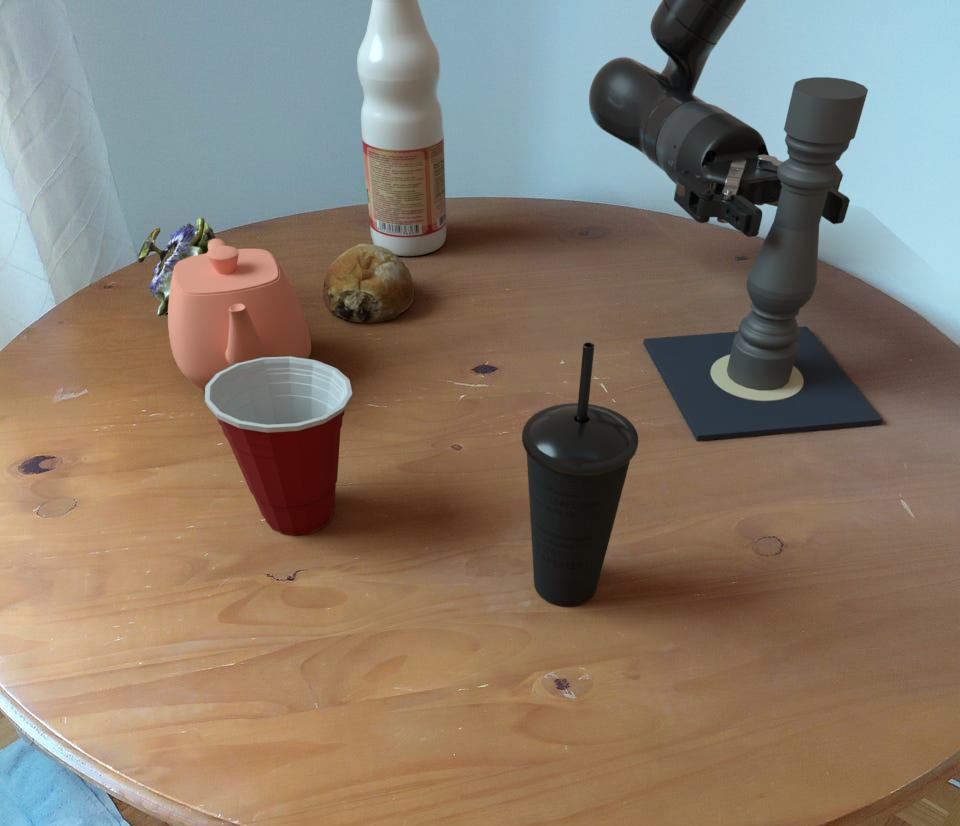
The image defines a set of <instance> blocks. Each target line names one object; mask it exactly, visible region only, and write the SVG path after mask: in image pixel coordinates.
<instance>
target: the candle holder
mask: <svg viewBox="0 0 960 826" xmlns="http://www.w3.org/2000/svg"><path fill="white" fill-rule="evenodd" d="M868 92H869V89H868V88H867V87H866V86H865V85H863V84H861V83H859V82H857V81H854V80H849V79H844V78H840V77H839V78H838V77H829V76H828V77H827V76H824V77H821V76H815V77H808V78H806V77H805V78H802V79H800V80H797V81H795V82H794V85H793V87H792V91H791V96H790V100H789V105H788V110H787V114H786V118H785V123H784V127H783V131H784V132H785V133H786V136H785V139H784V142H785V143H784V144H785V145H786V148H787V152H786V153H787V155H788V158H787V159H786V160H784V161H782V163H781V164H780V165H779V167H778V170H777V176H778V178H779V179H780V181H781V185H782V189H781V193H780V198H779V202H778V206H776V211H775V215H774V219H773V222H772V224H771V226H770V228H769V230H768V232H767V234H766V236H765V239H764V241H763V244H762V245H761V248H760V249H759V252H758V253H757V256H756V258H755V260H754V262H753V264H752V266H751V269H750V270H749V272H748V275H747V279H746V290H747V293H748V296H749V299H750V301H751V304H750V309H751V311H750V312H749V313H748V314H747V315H746V316H745V317H744V318H742V319H741V321H740V323H739V326H738V332H739V331H740V332H739V333H737V334H736V335H735V338H734V340H733V344H732V349H731V353H730V358H729V362H728V367H727V374H728V376H729V378H730V379H731V380H733V381H734V382H735V383H736V384H739V385H741V386H743V387H745V388H749V389H754V390H775V389H779V388H782V387H784V386H785V385H786V384H788V383H789V379H790V376H791V373H792V369H793V365H794V362H795V358H796V355H797V351H798V348H799V345H798V343H797V340H798V338H799V335H800V328H799V327H800V326H799V325H798V321H797V318H796V317H797V316H798V315H799V313H800V310H801V308H803V307H804V306H805V305H806V304H807V303H809V301H810V300H811V299H812V296H813V295H814V293H815V290H816V286H817V283H818V264H819V244H820V243H819V242H820V241H819V240H820V224H821V219H822V213H823V209H824V205H825V202H826V198H827V194H828V191H830V190H831V188H832V187H833V186H835V185H837V184H838V183H839V181H840V178H841V174H843V172H842V171H841V168H839V166H838V165H837V164H836V163H837V162H838V161H839V160H840V159H841V156H842V155H843V154H844V153H845V152H846V151H847V150H848V149H849V147H850V143H851V141H852V140H854V139H855V138H856V135H857V134H856V133H857V131H858V128H859V125H860V121H861V116H862V113H863V110H864V106H865V102H866V99H867V95H868Z"/></svg>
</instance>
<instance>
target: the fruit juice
mask: <svg viewBox="0 0 960 826" xmlns="http://www.w3.org/2000/svg"><path fill="white" fill-rule="evenodd" d="M358 48H359V49H358V51H357V54H356V55H357V56H356V70H357V76H358V80H359V82H360V86H361V88H362V92H363V101H362V105H361V110H360V131H361V140H362V141H361V142H362V151H363V162H364V173H365V184H366V194H367V196H366V197H367V207H368V216H369V217H368V219H369V228H370V236H371V240H372V244H373V245H377V246H381V247H383V248H386V249H388V250H390V251H391V252H392V253H394V254H395V255H396V256H397V257H398V256H399V257H416V256H422V255H427V254H430V253H433V252H435V251H437V250H439V249H440V248H441V247H442V246H443V245H445V242H446V240H447V239H446V238H447V204H446V203H447V202H446V201H447V200H446V171H445V170H446V169H445V167H446V166H445V132H444V131H445V130H444V129H445V128H444V118H443V117H444V116H443V109H442V106H441V103H440V101H439V99H438V88H439V82H440V76H441V58H440V54H439V50H438V48H437V46H436V44H435V43H434V41H433V39H432V37H431V34H429V30H428V27H427V25H426V22H425V20H424V16H423V14H422V10H421V7H420V3H419V0H372V1H371V6H370V12H369V17H368V21H367V26H366V30H365V35H364V37H363V39H362V41H361V44H360V46H359V47H358Z"/></svg>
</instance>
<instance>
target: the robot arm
mask: <svg viewBox="0 0 960 826" xmlns="http://www.w3.org/2000/svg"><path fill="white" fill-rule="evenodd" d="M746 2H747V0H661V2H660V4H659V5H658V6H657V8H656V10H655V12H654V14H653V16H652V18H651V21H650V27H649V28H650V34H651V37H652V39H653V40H654V42H655V44H656V45H657V46H658V47H659V48H660V50H661V51H662V52H663V53H664V54H665V55H667V57H668V58H667V61H666V64H665V66H664V68H663V69H662V71H661V72H659V71H656V70H655V69H653V68H651V67H649V66H647V65H645V64H643V63H641V62H639V61H637V60H636V59H634V58H631V57H627V56H622V57H621V56H620V57H616V58H614V59H611V60H609V61H608V62H606V63H605V64H604V65H602V66H601V67H600V69H599V70H598V71H597V73H596V74H595V75H594V77H593V79H592V82H591V85H590V88H589V93H588V107H589V112H590V116H591V118H592V120H593V121H594V123H595V124H596V125H597V127H599V128H600V129H601V130H603V132H605V133H607V134H609V135H610V136H612V137H614V138H616V139H617V140H619V141H621V142H623V143H625V144H627V145H628V146H630V147H633V148H634V149H636V150H638V151H639V152H640V153H641V154H643V155H644V156H645V157H646V158H647V159H648V160H649V161H650V162H651V163H652V164H654V165H655V166H657V167H658V168H659V169H660V170H661V171H663V172H664V173H665V174H666V175H667V177H668V178H669V179H670V181H672V182H673V184H675V190H674V196H673V201H674V202H675V203H676V204H677V205H679V207H681V208H682V209H683V211H685V213H687V214H688V215H689V216H690V217H691V218H692V219H693V220H694V221H695V222H697V223H699V224H707V223H709V222H710V219H711V218H716V221H717V222H718V223H721V224H729V225H730V226H732V227H733V228H734V229H735V230H737V231H738V232H741V233H742V234H743V235H744V236H746V237H747V238H752V237H757V236H758V235H759V234H760V229H761V224H762V221H763V220H762V219H763V211H762V209H761V208H759V206H761V207H762V206H763V205H767V206H773V207H777V206H778V202H779V198H780V193H781V189H782V185H781V181H780V179H779V178H778V176H777V170H778V167H779V165H780V164H781V163H782V162H783V161H782V160H779V159H778V157H776V156H774V155H770V154H769V150H768V147H767V145H766V142H765V139H764V137H763V136H762V134H761V133H760V132H759V131H758V130H757V129H755V128H754V127H752V126H751V125H749V124H747V123H745V122H744V121H743V120H741V119H739V118H737V117H736V116H734V115H732V114H731V113H730V112H728V111H726V110H725V109H724V108H721V107H719V106H717V105H715V104H710V103H707V102H706V101H704V100H702V98H699V97H698V96H696V95H695V94H694V92H695V89H696V87H697V85H698V83H699V80H700V79H701V76H702V73H703V71H704V69H705V66H706V64H707V62H708V59H709V58H710V55H711V53H712V52H713V50H714V49H715V47H716V46H717V44H718V42H720V40H721V39H722V37H723V36H724V34H725V33H726V31H727V30H728V29H729V27H730V26H731V25H732V23H733V21H734V20H735V18H736V17H737V16H738V14H739V13H740V11H741V9H742V8H743V7H744V5H745V4H746ZM843 176H844V174H843V173H842V174H841V178H840V181H839V183H838V184H837V185H835V186H833V187H832V188H831V190H830V191H828V194H827V198H826V202H825V205H824V209H823V213H822V216H821V218H824V219H825V220H827V221H828V222H829V223H831V224H832V225H838V224H842V223H844V221H845V219H846V215H847V212H848V209H849V205H850V202H851V200H850V198H849V196H847V195H846V194H844V193H843V192H840V191H839V190H840V186H841V183H842V181H843Z"/></svg>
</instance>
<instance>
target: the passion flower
mask: <svg viewBox="0 0 960 826" xmlns="http://www.w3.org/2000/svg"><path fill="white" fill-rule="evenodd" d="M195 224H196V225H193V224H191V223H190V222H189V223H187V224H186V225H182V227H179V228H178V230H174V234H172V233H171V234H170V233H169V238H170V239H169V242H167V244H166V245H165V247H164V249H160V248H158V247H157V246H156V245H155V243H156V239H157V237H158V236H159V235H160V233H161V228H160V227H156V228H155V229H154V230H153V231H152V232H151V233H150V234H149V235H148V237H147V238H146V239H143V245H142V247H141V249H140V251H139V253H138V259H137V261H138V263H139V264H141V263H143V262H144V261H145V259H146V258H147V257H148V256H149V255H150V253H151V252H155V253H157V254H158V255H159V260H160V261H159V262H158V263H157V264H156V268H154V269H153V270H152V276H153V278H152V280H151V282H150V284H149V285H148V289H149V292H150V293H151V298H155V299H156V300H157V301H160V302H161V303H160V305H159V306H158V310H157V316H159V317H162V316H164V315H166V314H167V313H166V312H167V311H168V303H169V294H170V287H171V280H172V274H173V270H174V266H175V265H176V264H177V262H179V261H181V260H183V259H185V258H188V257H192V256H196V255H200V254H205V253H207V252H208V242H209V241H210V240H212V239H217V238H216V236H215V233H214V229H213V228H211V227H210V226H209V224H208V222H206V221H205V218H204V217H198V218H197V219H196V223H195Z"/></svg>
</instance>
